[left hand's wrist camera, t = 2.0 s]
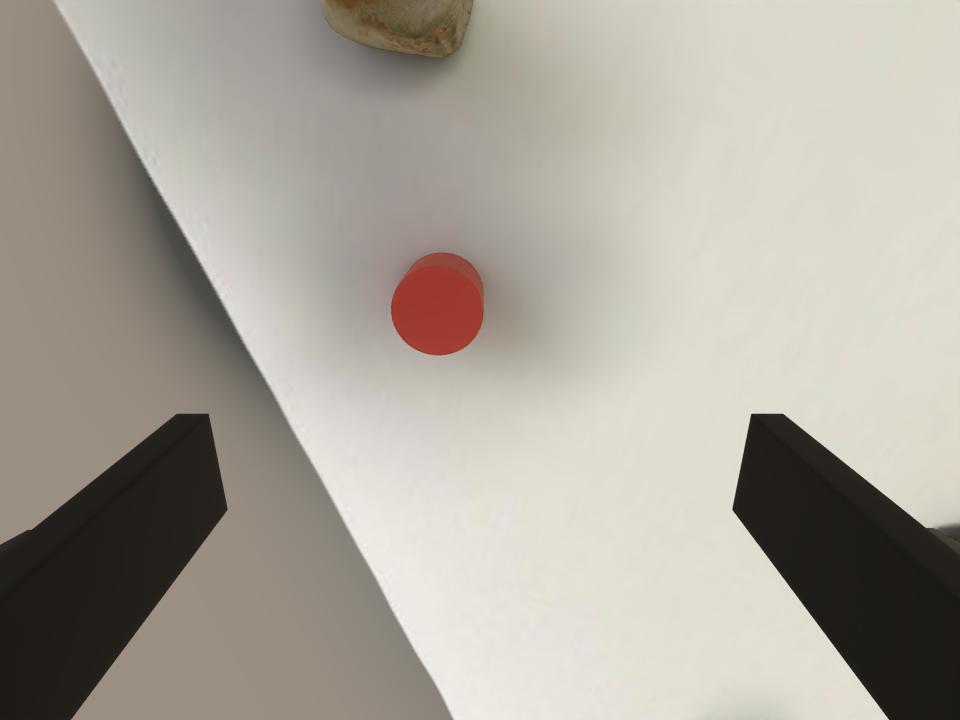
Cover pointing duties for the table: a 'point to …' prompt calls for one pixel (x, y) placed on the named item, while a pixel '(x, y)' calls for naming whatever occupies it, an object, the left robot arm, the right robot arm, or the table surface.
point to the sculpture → (402, 24)
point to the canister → (438, 304)
